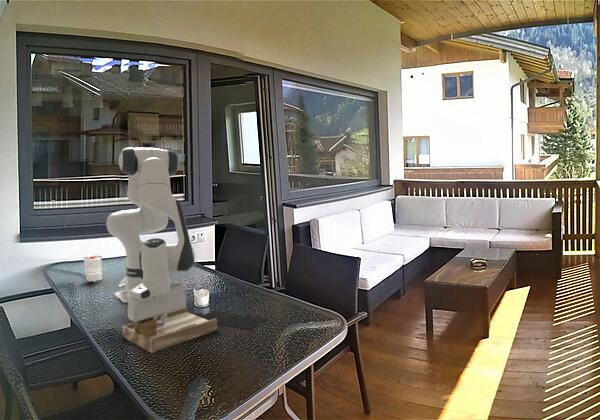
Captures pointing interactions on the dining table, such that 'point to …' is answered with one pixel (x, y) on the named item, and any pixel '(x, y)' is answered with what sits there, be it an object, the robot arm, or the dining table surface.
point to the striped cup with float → (93, 268)
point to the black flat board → (233, 320)
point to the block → (146, 327)
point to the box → (171, 330)
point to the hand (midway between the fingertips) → (159, 326)
